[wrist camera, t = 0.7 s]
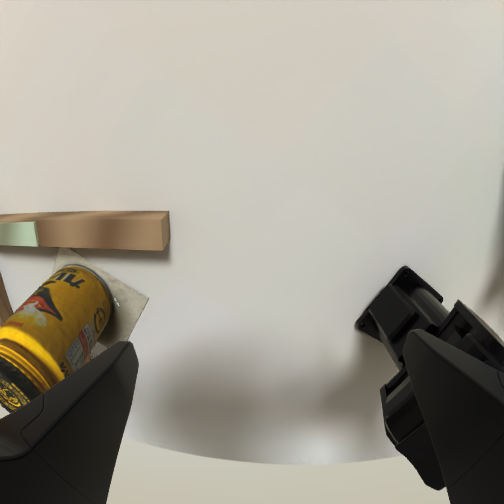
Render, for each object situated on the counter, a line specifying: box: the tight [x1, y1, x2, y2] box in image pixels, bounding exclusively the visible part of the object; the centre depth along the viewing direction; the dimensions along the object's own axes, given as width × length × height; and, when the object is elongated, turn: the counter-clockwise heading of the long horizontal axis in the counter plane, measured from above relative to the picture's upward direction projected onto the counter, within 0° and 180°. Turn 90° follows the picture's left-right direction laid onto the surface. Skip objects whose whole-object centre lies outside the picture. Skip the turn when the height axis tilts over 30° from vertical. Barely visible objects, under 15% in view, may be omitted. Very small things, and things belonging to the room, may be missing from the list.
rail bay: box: [0, 211, 170, 366], centre depth 20 cm, size 19×16×2 cm
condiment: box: [0, 247, 149, 413], centre depth 16 cm, size 7×8×12 cm
